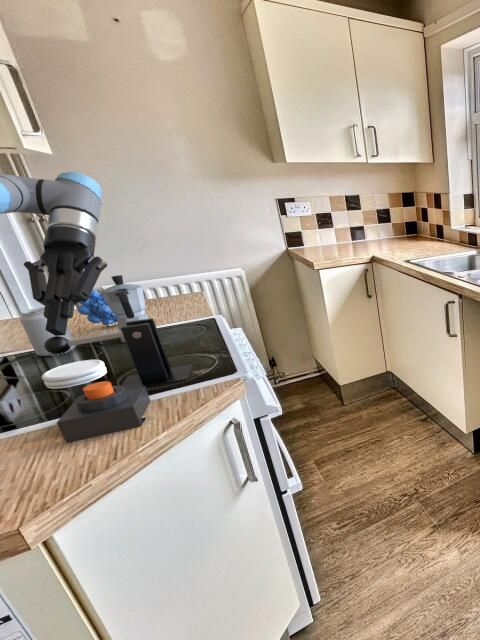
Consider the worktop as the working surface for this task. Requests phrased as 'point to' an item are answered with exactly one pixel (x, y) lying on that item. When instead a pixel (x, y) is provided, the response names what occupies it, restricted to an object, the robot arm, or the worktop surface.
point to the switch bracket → (149, 357)
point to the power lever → (75, 342)
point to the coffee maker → (125, 302)
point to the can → (39, 330)
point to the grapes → (97, 309)
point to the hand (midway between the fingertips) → (55, 332)
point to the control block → (104, 414)
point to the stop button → (98, 390)
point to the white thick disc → (74, 374)
